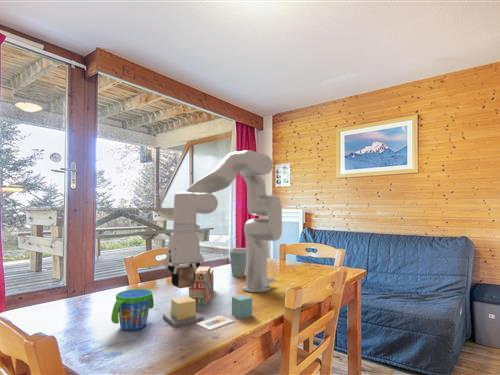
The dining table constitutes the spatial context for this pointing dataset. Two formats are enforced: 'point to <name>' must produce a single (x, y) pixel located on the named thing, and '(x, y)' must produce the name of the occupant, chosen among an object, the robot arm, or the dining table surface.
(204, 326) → the tile
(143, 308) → the snack cup
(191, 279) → the walnut brick
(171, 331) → the dining table surface
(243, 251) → the disposable coffee cup
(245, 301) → the teal brick
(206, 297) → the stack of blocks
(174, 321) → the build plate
